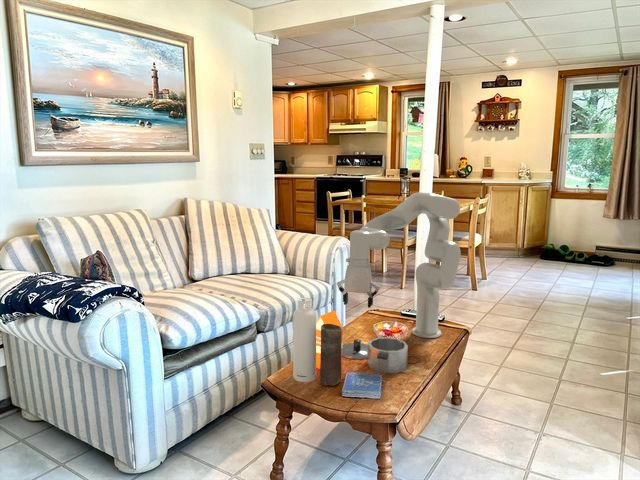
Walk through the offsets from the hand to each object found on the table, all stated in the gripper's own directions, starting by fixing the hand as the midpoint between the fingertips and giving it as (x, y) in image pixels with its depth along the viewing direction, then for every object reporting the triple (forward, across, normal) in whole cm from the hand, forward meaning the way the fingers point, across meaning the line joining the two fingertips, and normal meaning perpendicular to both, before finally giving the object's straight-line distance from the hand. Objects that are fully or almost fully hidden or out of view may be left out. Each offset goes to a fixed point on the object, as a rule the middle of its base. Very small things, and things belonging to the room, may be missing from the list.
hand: (357, 305), depth 186 cm
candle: (+20, -1, -28) cm, 35 cm away
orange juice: (+20, -7, -16) cm, 26 cm away
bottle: (+20, -11, -28) cm, 36 cm away
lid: (+20, 0, 0) cm, 20 cm away
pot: (+19, +14, -8) cm, 25 cm away
